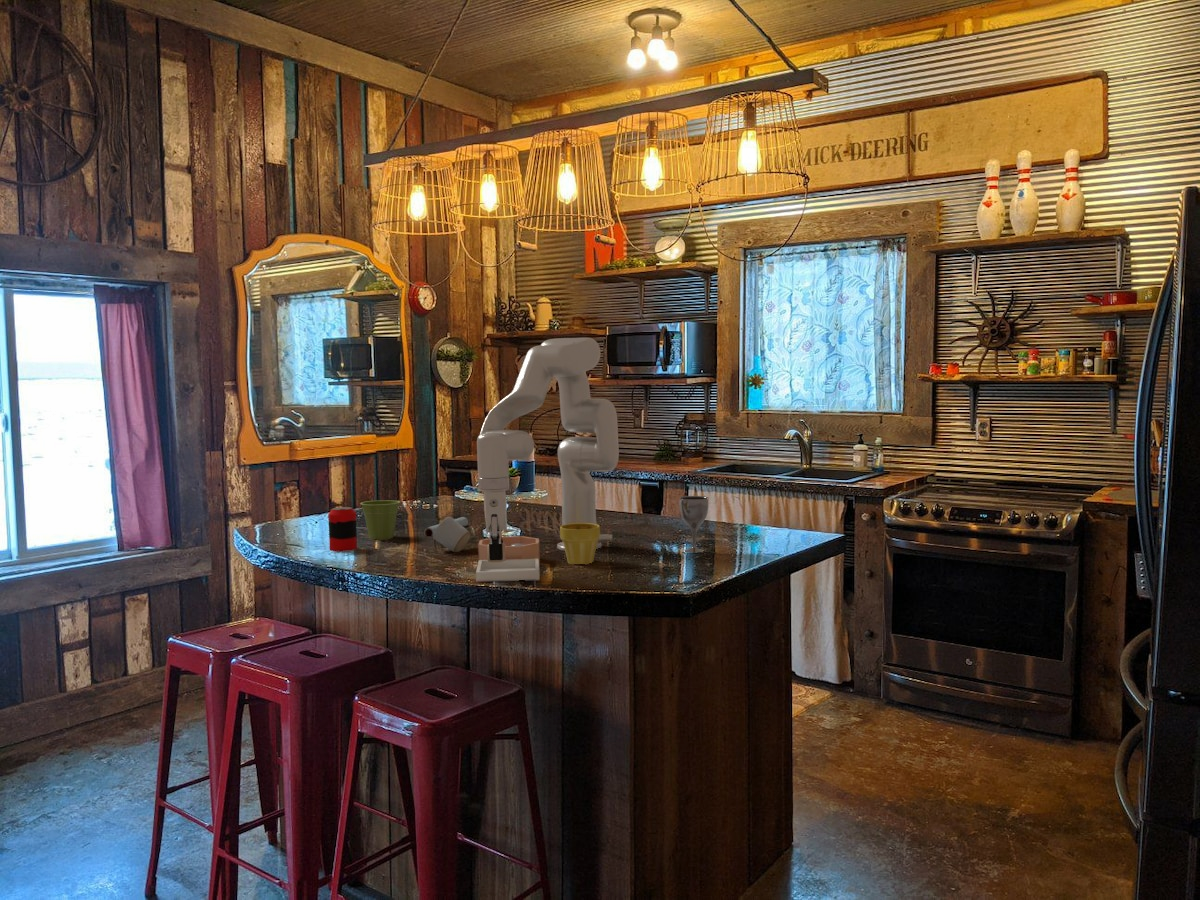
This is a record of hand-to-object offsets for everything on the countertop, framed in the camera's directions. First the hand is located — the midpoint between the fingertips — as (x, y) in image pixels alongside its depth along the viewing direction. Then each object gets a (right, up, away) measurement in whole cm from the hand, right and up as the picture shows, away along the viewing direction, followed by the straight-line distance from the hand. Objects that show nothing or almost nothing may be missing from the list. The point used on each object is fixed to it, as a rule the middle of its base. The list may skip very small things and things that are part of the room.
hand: (496, 556), depth 231 cm
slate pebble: (+4, -3, +17) cm, 17 cm away
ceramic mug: (-15, -2, +34) cm, 37 cm away
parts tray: (+3, -4, 0) cm, 5 cm away
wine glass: (+51, -2, +28) cm, 58 cm away
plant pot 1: (-41, -1, +56) cm, 69 cm away
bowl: (+2, -3, +16) cm, 17 cm away
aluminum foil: (-25, 0, +69) cm, 73 cm away
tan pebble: (0, -1, 0) cm, 1 cm away
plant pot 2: (+20, -3, +14) cm, 25 cm away
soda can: (-48, -3, +37) cm, 60 cm away
